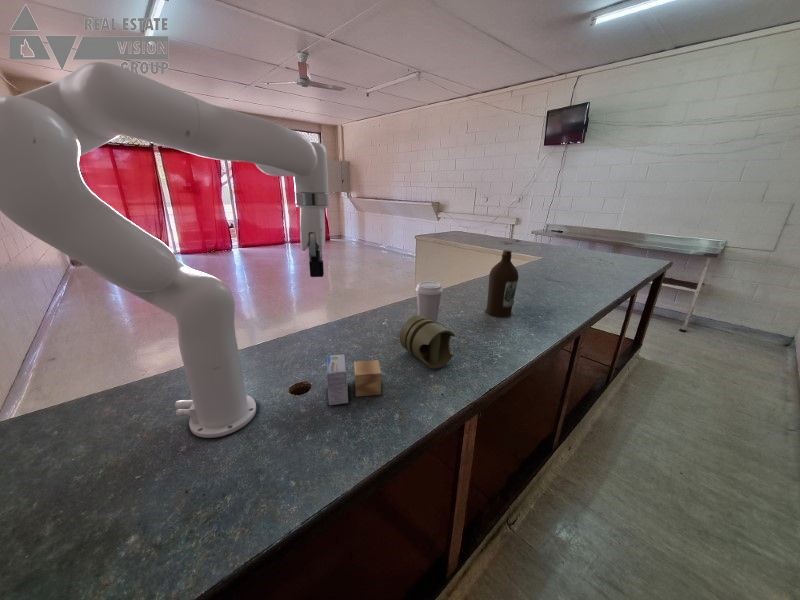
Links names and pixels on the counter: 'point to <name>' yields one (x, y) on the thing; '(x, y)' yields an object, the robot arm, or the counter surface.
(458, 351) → the counter surface
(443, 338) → the piston
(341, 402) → the medicine box
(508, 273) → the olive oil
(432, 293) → the coffee cup
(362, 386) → the maple block
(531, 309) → the counter surface
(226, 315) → the robot arm
